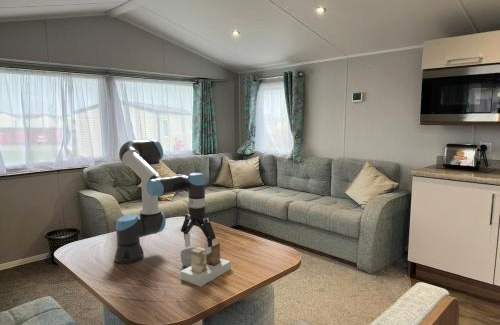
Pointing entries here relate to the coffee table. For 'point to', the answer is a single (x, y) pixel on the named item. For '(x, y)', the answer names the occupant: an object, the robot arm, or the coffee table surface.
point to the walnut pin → (213, 254)
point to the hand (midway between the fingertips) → (198, 249)
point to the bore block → (205, 273)
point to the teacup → (186, 257)
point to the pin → (198, 260)
